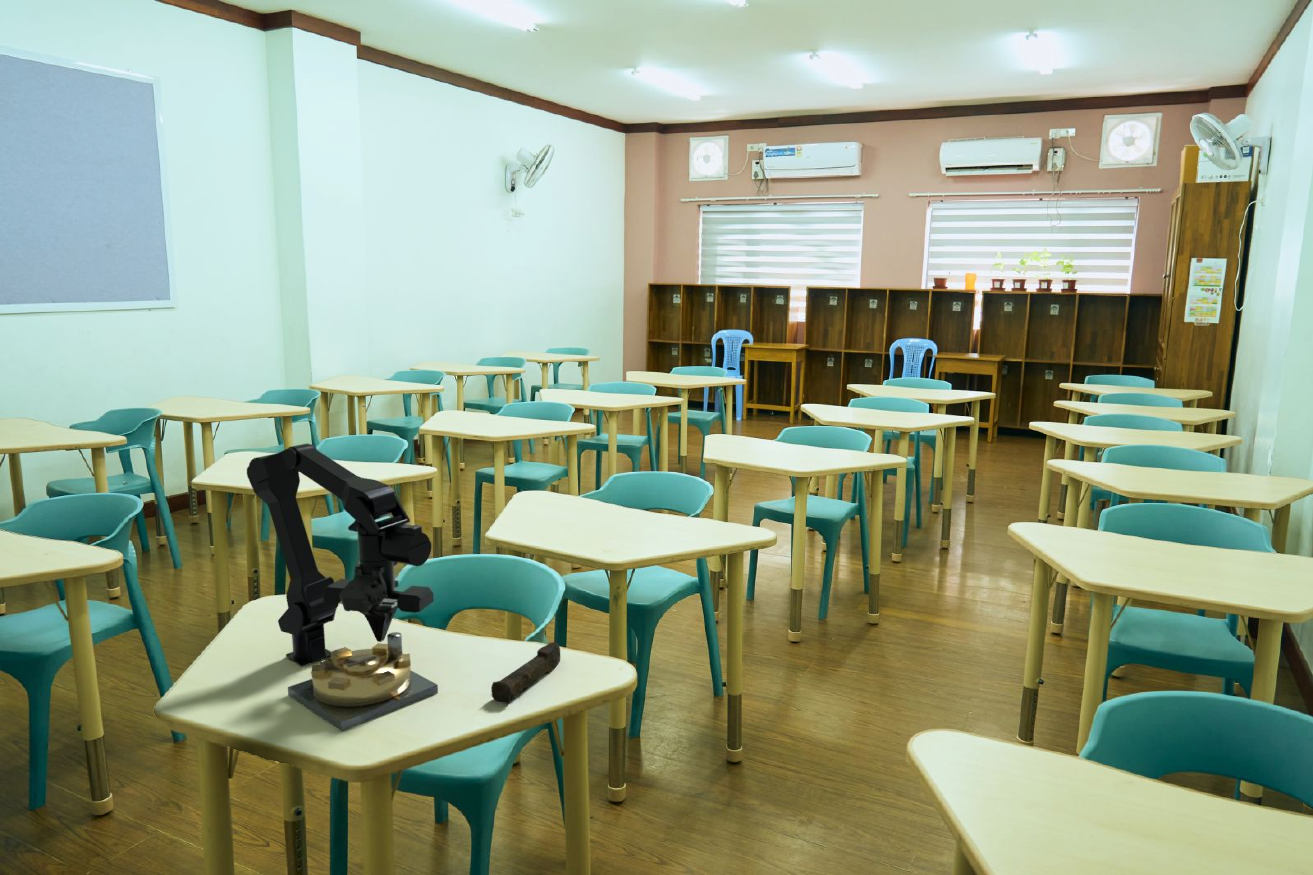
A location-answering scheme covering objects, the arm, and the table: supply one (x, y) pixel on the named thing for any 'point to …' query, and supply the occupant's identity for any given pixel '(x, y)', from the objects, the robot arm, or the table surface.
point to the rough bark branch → (527, 673)
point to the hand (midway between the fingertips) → (380, 640)
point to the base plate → (360, 714)
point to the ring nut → (363, 674)
